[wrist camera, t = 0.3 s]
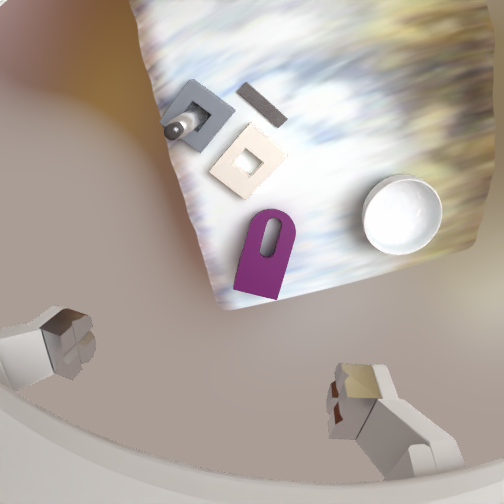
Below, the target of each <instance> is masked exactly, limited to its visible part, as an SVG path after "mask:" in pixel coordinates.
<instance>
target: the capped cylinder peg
mask: <svg viewBox="0 0 504 504" xmlns="http://www.w3.org/2000/svg"><path fill="white" fill-rule="evenodd" d="M206 118H207V111H206V110H205V109H203V108H202V107H201V106H196V107H193V108H192V109H190V110H188V111H186V112H184V113H182V114H180V115H179V116H177V117H175V118H173V119H171V120H170V121H169V122H168V123H167V125H166V127H165V129H164V135H165V137H166V138H167V139H169V140H180V139H182V138H183V137H185V136H186V135H187V134H188V133H190V132H191V131H192V130H193V129H195V128H196V127H197V126H199V125H200V124H201V123H202V122H204V121H205V120H206Z"/></svg>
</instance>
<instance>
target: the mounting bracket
mask: <svg viewBox="0 0 504 504" xmlns="http://www.w3.org/2000/svg"><path fill="white" fill-rule="evenodd" d="M271 218H278V219H279V220H280V222H281V228H280V232H279V235H278V239H277V242H276V246H275V250H274V253H273V254H272V255H271V256H268V257H265V256H263V255H261V254H260V246H261V243H262V239H263V235H264V232H265V228H266V224H267V222H268V220H269V219H271ZM295 235H296V230H295V225H294V223H293V221H292V219H291V218H290V217H289V216H288V215H287V214H286V213H284V212H282V211H280V210H276V209H267V210H263V211H261V212H259V213H258V214H257V215H256V216H255V217H254V218H253V219H252V221H251V223H250V226H249V230H248V233H247V237H246V241H245V245H244V248H243V250H242V253H241V256H240V260H239V264H238V268H237V272H236V276H235V280H234V286H233V289H234V290H238V291H242V292H246V293H250V294H254V295H258V296H262V297H266V298H270V299H275V300H277V298H278V294H279V291H280V288H281V284H282V281H283V278H284V274H285V271H286V268H287V264H288V261H289V257H290V254H291V250H292V247H293V243H294V240H295Z"/></svg>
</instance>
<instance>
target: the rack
mask: <svg viewBox="0 0 504 504" xmlns="http://www.w3.org/2000/svg"><path fill="white" fill-rule="evenodd" d="M245 148H246V149H248V150H249V151H250V152H251V153H253V154H254V155H255V156H256V157H258V158H259V159H260V160H261V161H263V162H262V163H261V164H260V165H259V166H258V167H257V168H256V169H255V170H254V171H253V172H252V173H251V175H250V174H249V173H247V172H246V171H245V170H244V169H242V168H241V167H240V166H239V165H237V164H236V163H235V162H234V161H235V159H236V158H237V157H238V156H239V155H240V154H241V153H242V151H243V150H244V149H245ZM287 157H288V153H287V152H286V151H285V150H284V149H283V148H282V147H280V146H279V145H278V144H277V143H276V142H274V141H273V140H272V139H271V138H270V137H268V136H267V135H266V134H265V133H264V132H262V131H261V130H260V129H259V128H257V127H256V126H255V125H254V124H252V123H251V122H250V123H249V125H248V126H247V127H246V128H245V129H244V130H243V131H242V132H241V134H240V135H239V136H238V137H237V138H236V139H235V141H234V142H233V143H232V144H231V145H230V146H229V148H228V149H227V150H226V151H225V152H224V153H223V155H222V156H221V157H220V158H219V159H218V161H217V162H216V163H215V164H214V165H213V167H212V168H211V170H210V171H209V172H210V173H211V174H212V175H214V176H215V177H216V178H218V179H219V180H220V181H221V182H223V183H224V184H225V185H227V186H228V187H229V188H231V189H232V190H233V191H234V192H236V193H237V194H238V195H240V196H241V197H242V198H243V199H245V200H246V199H247V198H248V197H249V196H250V195H251V194H252V193H253V192H254V191H255V190H256V189H257V188H258V187H259V186H260V185H261V184H262V183H263V182H264V180H265V179H266V178H267V177H268V176H269V175H270V174H271V173H272V172H273V171H274V170H275V169H276V168H277V167H278V166H279V165H280V164H281V163H282V162H283V161H284V160H285V159H286V158H287Z"/></svg>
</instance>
